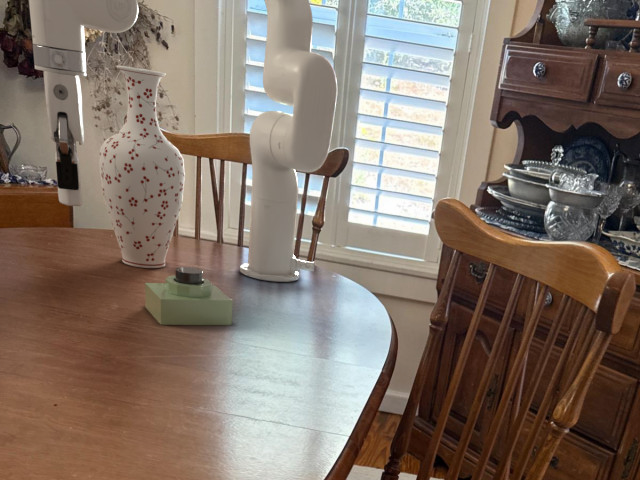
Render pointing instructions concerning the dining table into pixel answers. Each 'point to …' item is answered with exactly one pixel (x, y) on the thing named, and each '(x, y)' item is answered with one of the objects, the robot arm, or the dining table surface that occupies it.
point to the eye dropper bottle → (68, 195)
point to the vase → (142, 176)
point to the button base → (188, 303)
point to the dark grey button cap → (188, 275)
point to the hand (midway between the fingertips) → (69, 184)
